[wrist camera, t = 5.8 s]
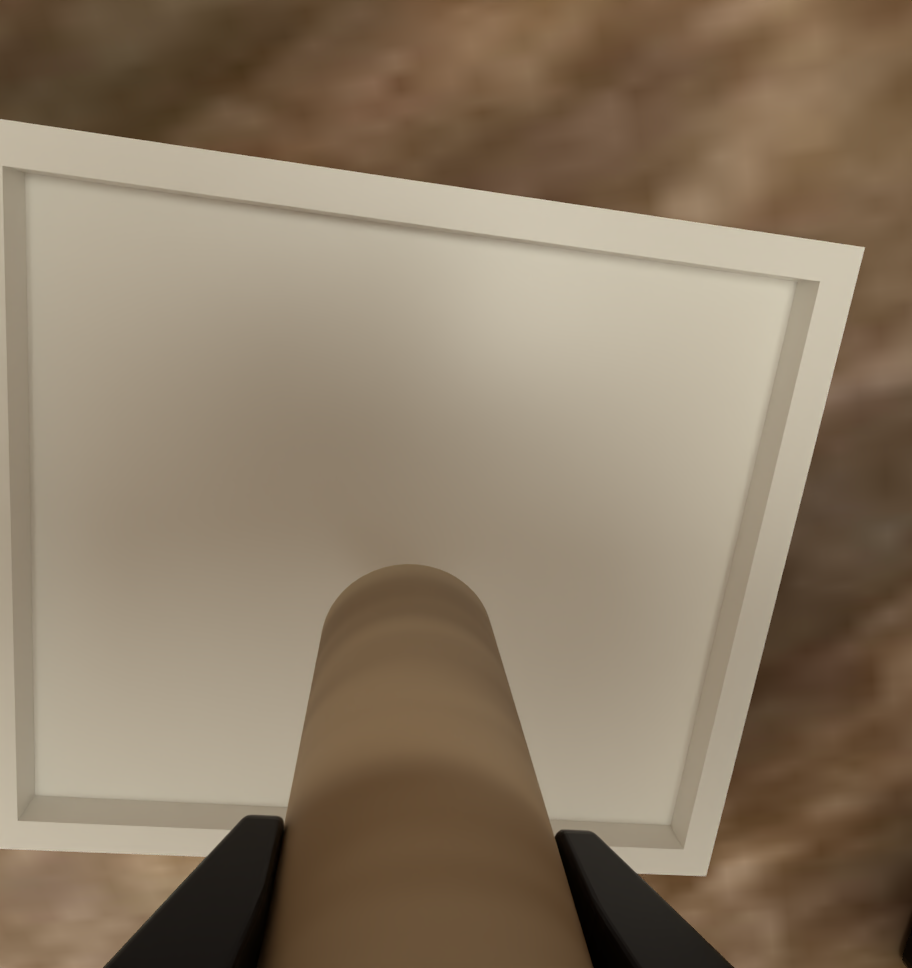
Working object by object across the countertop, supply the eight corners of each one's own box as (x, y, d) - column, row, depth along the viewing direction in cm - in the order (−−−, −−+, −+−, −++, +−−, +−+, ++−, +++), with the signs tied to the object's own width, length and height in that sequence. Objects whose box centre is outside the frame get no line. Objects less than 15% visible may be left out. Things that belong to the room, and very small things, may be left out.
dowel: (480, 725, 14) (806, 2307, 3) (314, 714, 13) (4, 2463, 3) (504, 571, 13) (1050, 1946, 2) (328, 556, 12) (-20, 2101, 2)
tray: (684, 835, 21) (706, 876, 20) (12, 804, 19) (-18, 848, 18) (825, 250, 17) (864, 247, 16) (-5, 128, 15) (-46, 112, 14)
